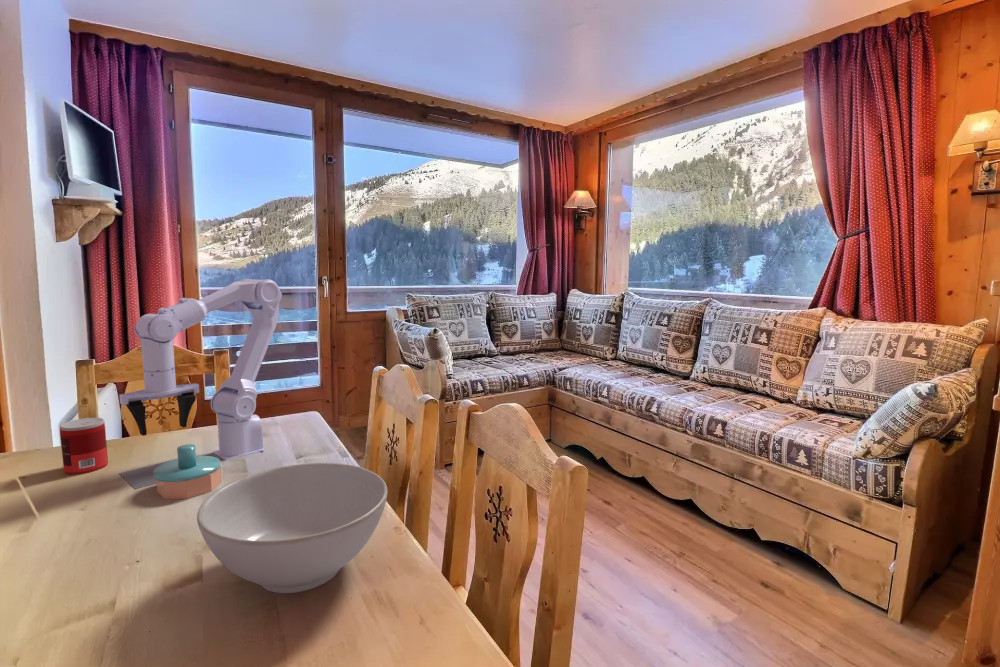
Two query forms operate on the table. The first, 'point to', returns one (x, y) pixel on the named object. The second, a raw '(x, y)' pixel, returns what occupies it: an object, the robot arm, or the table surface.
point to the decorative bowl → (293, 523)
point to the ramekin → (189, 486)
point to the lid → (186, 466)
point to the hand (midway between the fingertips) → (163, 430)
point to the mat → (141, 476)
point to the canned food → (83, 445)
